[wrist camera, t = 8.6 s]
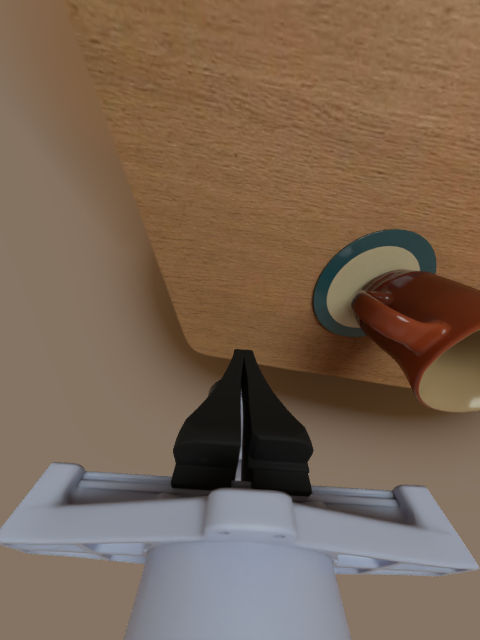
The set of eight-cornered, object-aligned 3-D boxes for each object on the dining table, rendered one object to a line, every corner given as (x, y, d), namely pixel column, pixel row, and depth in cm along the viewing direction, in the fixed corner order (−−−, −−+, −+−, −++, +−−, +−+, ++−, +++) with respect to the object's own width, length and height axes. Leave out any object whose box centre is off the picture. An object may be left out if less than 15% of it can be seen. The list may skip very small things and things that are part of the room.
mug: (450, 275, 18) (652, 335, 9) (386, 340, 22) (480, 423, 13) (350, 231, 16) (480, 250, 7) (301, 310, 20) (345, 384, 11)
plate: (371, 347, 23) (373, 348, 23) (292, 315, 21) (293, 317, 21) (462, 260, 17) (466, 261, 17) (365, 205, 15) (367, 204, 15)
